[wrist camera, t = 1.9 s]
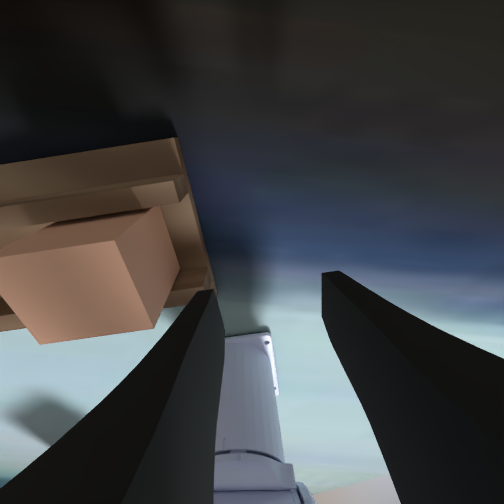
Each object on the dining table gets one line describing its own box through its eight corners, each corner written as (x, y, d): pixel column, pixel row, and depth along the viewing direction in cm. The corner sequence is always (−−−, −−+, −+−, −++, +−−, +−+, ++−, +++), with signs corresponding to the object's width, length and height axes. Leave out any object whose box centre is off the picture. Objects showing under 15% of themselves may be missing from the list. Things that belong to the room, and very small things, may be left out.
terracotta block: (180, 268, 17) (153, 328, 12) (101, 279, 17) (39, 344, 12) (158, 202, 15) (114, 240, 10) (67, 216, 15) (-26, 261, 10)
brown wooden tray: (217, 293, 20) (211, 339, 15) (-33, 329, 20) (-110, 384, 16) (177, 137, 14) (150, 139, 10) (-165, 190, 15) (-339, 215, 10)
